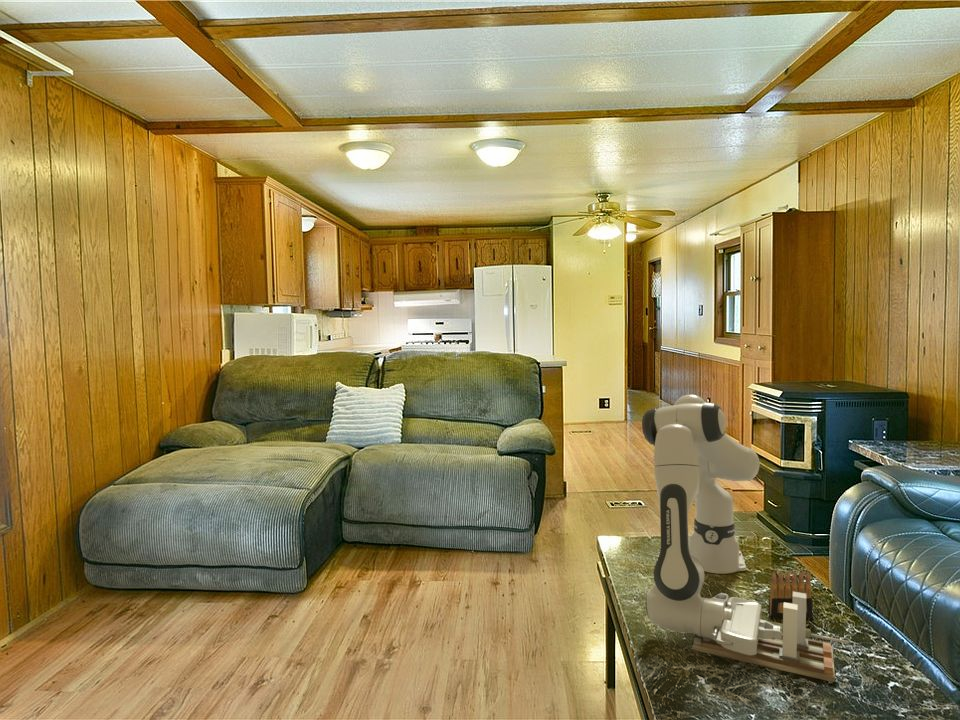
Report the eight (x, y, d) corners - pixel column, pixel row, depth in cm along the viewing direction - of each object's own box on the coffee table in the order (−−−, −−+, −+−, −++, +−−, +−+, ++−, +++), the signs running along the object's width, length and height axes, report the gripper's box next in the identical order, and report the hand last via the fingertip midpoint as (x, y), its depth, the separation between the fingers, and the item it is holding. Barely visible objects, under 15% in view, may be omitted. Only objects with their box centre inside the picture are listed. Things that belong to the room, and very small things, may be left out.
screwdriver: (769, 634, 152) (769, 625, 152) (769, 628, 154) (769, 619, 154) (849, 650, 144) (849, 640, 144) (848, 644, 146) (848, 634, 146)
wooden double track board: (700, 625, 156) (700, 615, 156) (832, 652, 143) (832, 642, 143) (692, 649, 145) (692, 639, 145) (834, 682, 132) (835, 671, 131)
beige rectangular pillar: (779, 652, 141) (780, 600, 140) (799, 656, 139) (800, 604, 138) (779, 659, 137) (780, 607, 137) (799, 664, 136) (800, 611, 135)
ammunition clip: (771, 617, 160) (772, 572, 159) (767, 614, 162) (768, 569, 161) (812, 617, 160) (813, 572, 159) (809, 614, 162) (810, 569, 161)
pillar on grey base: (788, 639, 146) (790, 590, 145) (808, 643, 144) (809, 593, 143) (788, 646, 143) (789, 596, 142) (808, 650, 141) (809, 599, 140)
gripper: (710, 626, 136) (780, 641, 129) (721, 589, 154) (783, 601, 147) (710, 654, 136) (780, 670, 130) (721, 614, 154) (783, 626, 148)
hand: (781, 633), depth 139 cm, fingers closed
